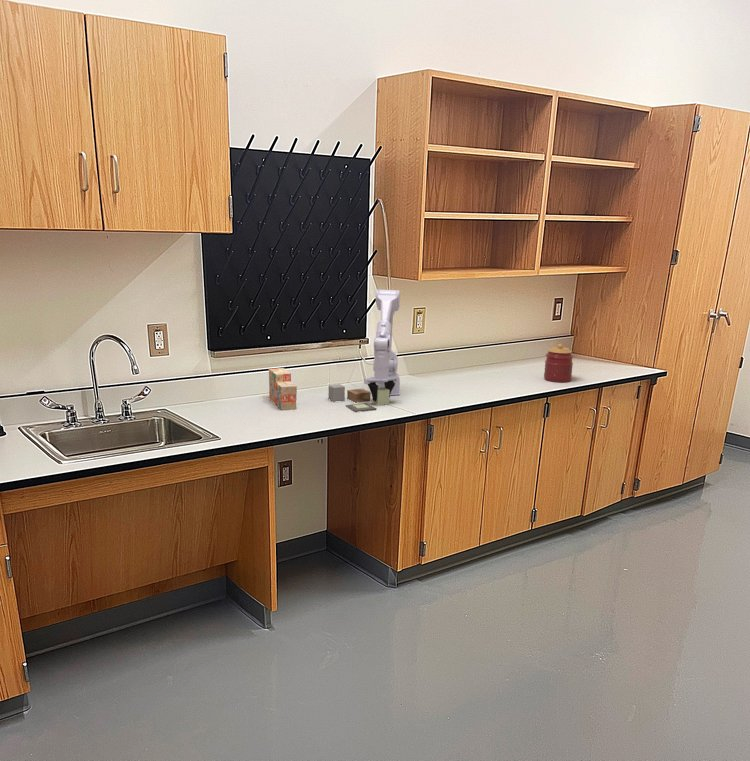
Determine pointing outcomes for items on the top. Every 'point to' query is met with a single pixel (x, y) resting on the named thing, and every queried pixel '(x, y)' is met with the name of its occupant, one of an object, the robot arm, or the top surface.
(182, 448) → the top surface
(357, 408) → the card
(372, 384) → the robot arm
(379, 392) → the sage green block
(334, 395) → the slate grey block
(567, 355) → the canister
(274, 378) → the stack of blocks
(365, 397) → the walnut base block
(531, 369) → the top surface
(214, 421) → the top surface
